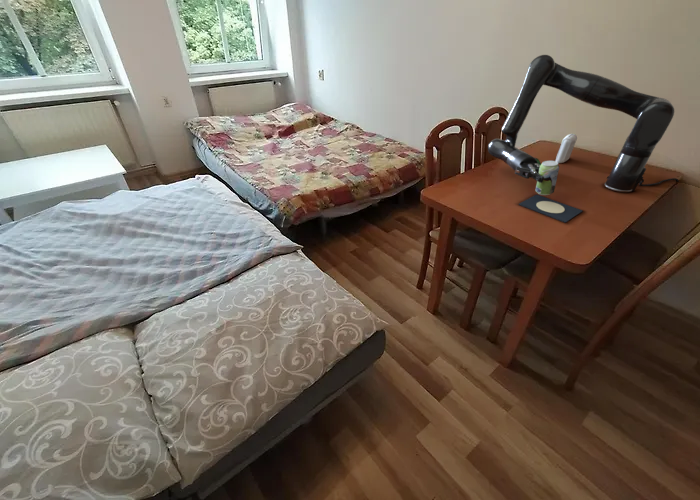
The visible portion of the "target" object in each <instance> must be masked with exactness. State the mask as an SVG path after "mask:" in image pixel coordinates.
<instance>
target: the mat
mask: <svg viewBox="0 0 700 500" xmlns="http://www.w3.org/2000/svg"><path fill="white" fill-rule="evenodd" d="M518 206H521V207H523V208H525V209H528V210H530V211H533V212H536V213H538V214H541V215H544V216H546V217H549V218H552V219H554V220H557V221H559V222H561V223H564V224H566V223H568V222H569V221H571V220H572V219H574V218H575V217H577V216H579V214H580V215H581V213H583V212H584V210H582V209H580V208H577V207H575V206H571V205H568V204H566V203H562V202H560V201H557V200H554V199H551V198H549V197H546V196H544V195H540V194H538V193H536V194H534V195H533V196H530V197H529V198H527V199H524V200H523V201H521V202H519V203H518Z"/></svg>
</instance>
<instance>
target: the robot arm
mask: <svg viewBox="0 0 700 500" xmlns="http://www.w3.org/2000/svg"><path fill="white" fill-rule="evenodd" d="M543 86H546V87H550V88H554V89H556V90H558V91H561V92H563V93H565V94H567V95H568V96H570V97H572V98H574V99H576V100H578V101H581V102H583V103H586V104H588V105H591V106H593V107H597V108H601V109H605V110H607V109H608V110H612V111H613V110H614V111H618V112H621V113H623V114H626V115H627V116H630V117H632V118H634V119H635V120H636V121H635V123H634V125H633V127H632V129H631V131H630V133H629V134H628V136H627V137H626V138H625V140H624V143H623V145H622V148H621V150H620V151H619V154H618V155H617V158H616V160H615V162H614V164H613V166H612V168H611V170H610V172H609V174H608V176H607V177H606V179H605V180H606V181H605V182H604V184H603V186H604V187H605V188H606V189H608V190H610V191H613V192H617V193H623V194H625V193H631V192H635V191H636V189H637V188H638V186H640V187H651V186H658V185H660V184H662V183H664V182H669V181H676V182H677V183H679V182H680V180H679V179H678V178H675V177H673V178H667V179H663V180H660V181H658V182H653V183H648V184H643V183H645V182H644V181H645V180H644V174H645V172H646V170H647V168H646V165H647V163H648V161H649V160H650V157H652V156H651V155H652V154H653V152H654V150H655V149H656V146H657V145H658V144H659V142H660V141H661V140H662V139H663V136H664V134H665V133H666V131H667V129H668V128H669V126H670V124H671V122H672V120H673V118H674V116H675V107H674V105H673V104H672V102H671V101H670V100H669V99H667V98H663V97H659V96H654V95H650V94H647V93H643V92H640V91H636V90H634V89H632V88H630V87H627V86H626V85H624V84H621V83H620V82H617V81H614V80H612V79H610V78H607V77H604V76H602V75H600V74H596V73H592V72H586V71H581V70H575V69H571V68H567V67H565V66H563V65H561V64H559V63H557V62H555V60H554V58H553V57H552V56H550V55H549V54H541V55H538V56H536V57H535V58H533V59H532V60H531V62H530V63H529V65H528V67H527V72H526V75H525V78H524V81H523V84H522V86H521V89H520V91H519V93H518V95H517V98H516V99H515V101H514V103H513V105H512V106H511V109H510V111H509V112H508V114H507V116H506V119H505V120H504V122H503V125H502V127H501V129H500V131H501V133H502V134H504V135H505V140H504V139H501V138H494V139H492V140H490V142H489V143H488V145H487V152H488V154H489V155H490V156H492V157H494V158H496V159H498V160H501V161H502V162H503V163H505V164H506V165H507V166H508V167H509V168H511V169H512V170H513V171H514V175H517V176H519V177H522V178H524V179H527V180H528V179H531V180H535V181H536V182H537V181H538V182H539V183H542V182H543V180H544V177H543V176H542V175H540V174H539V168H540V165H539V164H537V161H536V159H535V158H536V157H535V158H534V156H532V155H530V154H529V153H528V152H526V151H524V150H522V149H520V148H518V147H516V144H517V139H518V136H519V133H520V131H521V128H522V127H523V125H524V123H525V121H526V119H527V117H528V115H529V112H530V110H531V108H532V106H533V103H534V101H535V99H536V97H537V95H538V93H539V92H540V90H541V89H542V87H543Z"/></svg>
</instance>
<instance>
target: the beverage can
mask: <svg viewBox="0 0 700 500" xmlns="http://www.w3.org/2000/svg"><path fill="white" fill-rule="evenodd" d="M559 171H560V165H559V163H558V162H556V161H555V160H544V161H542V163H541V165H540V168H539V174H540V175H542V176H543V177H544V180H543V182H542V183H539V182H538V181H536V185H535V192H536V194H537V195H540V196H549V195H552V194H554V192H555V190H556V185H557V179H558V175H559Z"/></svg>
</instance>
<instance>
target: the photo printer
mask: <svg viewBox="0 0 700 500" xmlns="http://www.w3.org/2000/svg"><path fill="white" fill-rule="evenodd" d="M577 140H578V135H577V134H575V133H569V134H566V136H565V137H564V138H562V141H561V143H560V147H559V149H558V151H557V153H556V157H555V160H554V161H556V162H558V164H562V163H565V162H567V161H569V159H570V158H571V156H572V153H573V150H574V147H575V145H576V142H577Z"/></svg>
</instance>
